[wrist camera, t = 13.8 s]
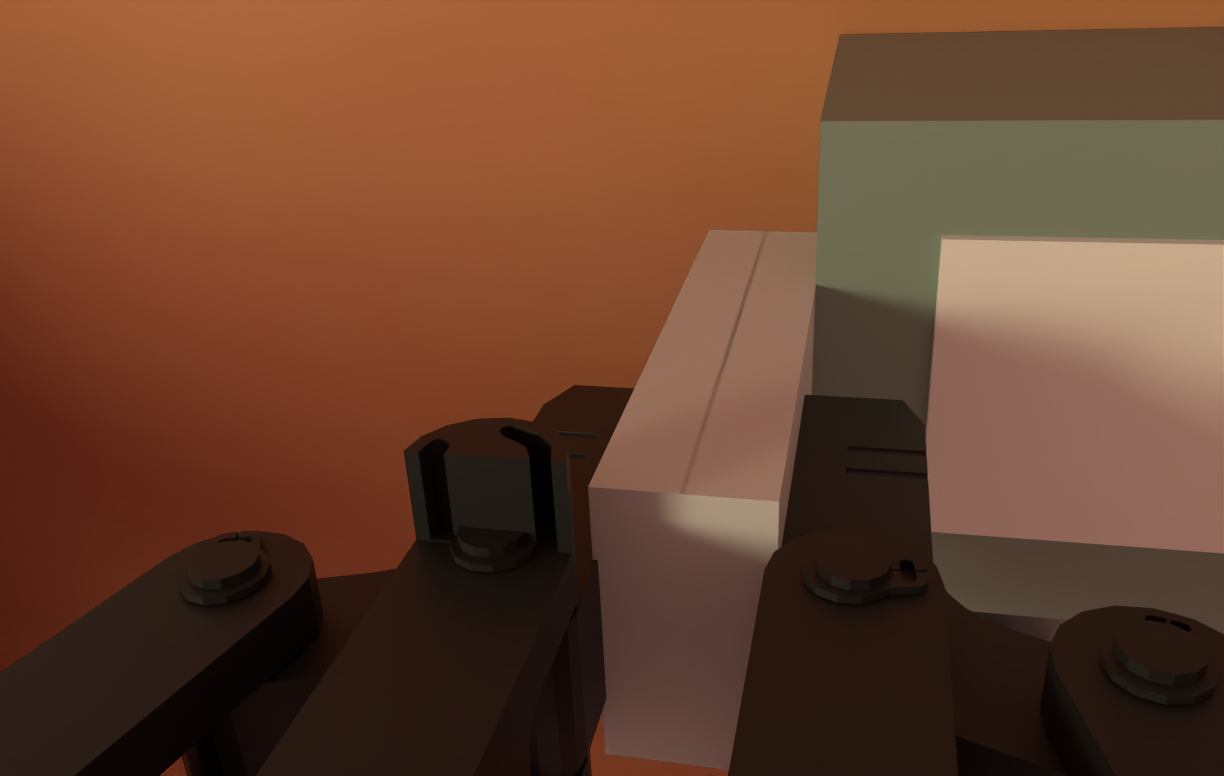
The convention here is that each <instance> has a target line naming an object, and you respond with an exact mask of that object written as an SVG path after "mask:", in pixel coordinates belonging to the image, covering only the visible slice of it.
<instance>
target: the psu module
mask: <svg viewBox="0 0 1224 776" xmlns="http://www.w3.org/2000/svg"><path fill="white" fill-rule="evenodd" d="M815 285H816V288H815V316H814V344H813V375H812V395H821V396H839V397H857V398H876V399H894V400H903V401H904V402H905V403H906V404H907V405H908V407H909V408H910V409H911V410H912V411H913V412H914V413H915V414H916V415H917V416H918V417H919V419H920V420H921V421H922V422H923V423H924V424H925V436H926V456H927V468H928V485H929V501H930V517H931V534H932V550H933V563H934V564H935V565H936V566H937V569H938V571H939V573H940V576H941V578H942V581H943V583H944V586H945V589H946V591H947V592H948V593H949V594H950V595H951V596H952V597H953V598H954V599H956V600H957V601H958V602H959V603H960V604H962V605H963V606H964V607H965V608H967V609H968V610H970V611H973V612H984V613H996V614H1007V615H1018V616H1030V617H1041V618H1053V619H1064V620H1069V619H1070V618H1072V617H1074V616H1075V615H1077V614H1078V613H1080V612H1082V611H1087V610H1093V609H1098V608H1104V607H1109V606H1114V605H1115V606H1130V607H1145V608H1155V609H1159V610H1162V611H1167V612H1170V613H1175V614H1178V615H1181V616H1184V617H1188V618H1191V619H1195V620H1197V621H1199V622H1201V623H1203V624H1205V625H1207V626H1209V627H1211V628H1213V629H1214V630H1216V631H1218V632H1220V633H1223V634H1224V27H1200V28H1149V29H1098V30H1048V31H997V32H946V33H896V34H845V35H840V37H839V41H838V46H837V50H836V54H835V59H834V63H833V68H832V72H831V77H830V81H829V85H828V90H827V94H826V99H825V103H824V107H823V112H822V116H821V121H820V149H819V182H818V214H817V246H816V279H815Z"/></svg>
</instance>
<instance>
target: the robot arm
mask: <svg viewBox="0 0 1224 776" xmlns="http://www.w3.org/2000/svg"><path fill="white" fill-rule="evenodd" d="M816 246H817V232H779V231H739V230H709V231H708V234H707V236H706V238H705V240H704V242H703V244H702V246H701V248H700V251H699V253H698V255H697V257H696V259H695V261H694V263H693V265H692V268H691V270H690V272H689V274H688V276H687V278H686V280H685V282H684V285H683V287H682V289H681V291H680V293H679V295H678V297H677V299H676V301H675V304H674V306H673V308H672V310H671V312H670V314H669V316H668V318H667V321H666V323H665V325H664V327H663V329H662V331H661V333H660V335H659V338H658V340H657V342H656V344H655V346H654V348H653V350H652V352H651V355H650V357H649V359H648V361H647V363H646V365H645V367H644V369H643V371H642V374H641V376H640V378H639V380H638V382H637V384H636V386H635V388H616V387H598V386H580V385H574V386H572V387H571V388H569V389H568V390H566V391H565V392H563V393H561V394H560V395H558V396H557V397H555V398H554V399H552V400H550V401H549V402H547V403H546V404H544V405H543V407H542V408H541V410H540V411H539V413H538V415H537V416H536V418H535V419H534V421H533V422H531V421H525V420H519V419H513V418H489V419H475V420H470V421H465V422H461V423H456V424H451V425H447V426H445V427H442V428H440V429H438V430H435V431H433V432H431V433H428V434H426V435H424V436H421V437H420V438H419V439H418V440H417V441H415V442H414V443H413V444H412V445H410V446H409V447H408V448H407V449H406V450H404V456H405V463H406V470H407V476H408V483H409V490H410V497H411V504H412V511H413V518H414V525H415V532H416V539H417V540H416V541H415V542H414V544H413V545H412V547H411V548H410V550H409V551H408V553H407V554H406V556H405V557H404V559H403V560H402V562H401V563H400V565H399V566H398V567H397V569H391V570H385V571H380V572H374V573H366V574H357V575H348V576H338V577H329V578H320V579H316V574H315V568H314V563H313V559H312V557H311V555H310V553H309V552H308V550H307V548H306V547H305V545H304V544H303V543H301V542H299V541H297V540H295V539H293V538H291V537H289V536H287V535H285V534H278V533H269V532H261V531H242V532H241V533H238V532H233V533H227V534H222V535H219V536H217V537H215V538H212V539H209V540H205V541H202V542H199V543H195V544H193V545H191V546H189V547H187V548H185V549H183V550H182V551H180V552H178V553H176V554H174V555H172V556H170V557H168V558H167V559H165V560H164V561H162V562H161V563H159V564H158V565H156V566H155V567H153V568H152V569H150V570H149V571H148V572H146V573H145V574H143V575H142V576H140V577H139V578H137V579H136V580H134V581H133V582H132V583H130V584H129V585H127V586H126V587H124V588H123V589H121V590H120V591H118V592H117V593H116V594H114V595H113V596H111V597H110V598H108V599H107V600H105V601H104V602H103V603H101V604H100V605H98V606H97V607H95V608H94V609H92V610H91V611H89V612H88V613H87V614H85V615H84V616H82V617H81V618H79V619H78V620H76V621H75V622H73V623H72V624H71V625H69V626H68V627H66V628H65V629H63V630H62V631H60V632H59V633H57V634H56V635H55V636H53V637H52V638H50V639H49V640H47V641H46V642H44V643H43V644H41V645H40V646H39V647H37V648H36V649H34V650H33V651H31V652H30V653H28V654H27V655H25V656H24V657H23V658H21V659H20V660H18V661H17V662H15V663H14V664H12V665H11V666H10V667H8V668H7V669H5V670H4V671H2V672H1V673H0V776H160V775H161V774H162V773H163V772H164V771H165V770H166V769H168V768H169V767H170V766H171V765H172V764H173V763H174V762H175V761H177V760H178V759H179V758H180V757H181V756H182V760H183V763H184V767H185V770H186V774H187V776H592V774H591V760H590V746H591V743H592V740H593V737H594V734H595V731H596V728H597V725H598V722H599V719H600V716H601V713H602V714H603V730H604V745H605V754H609V755H617V756H625V757H632V758H640V759H648V760H655V761H663V762H671V763H678V764H685V765H693V766H700V767H708V768H716V769H723V770H729V773H728V776H1224V634H1222V633H1220V632H1218V631H1216V630H1214V629H1213V628H1211V627H1209V626H1207V625H1205V624H1203V623H1201V622H1199V621H1197V620H1195V619H1191V618H1188V617H1184V616H1181V615H1178V614H1175V613H1170V612H1167V611H1162V610H1159V609H1155V608H1145V607H1130V606H1115V605H1114V606H1109V607H1104V608H1098V609H1093V610H1087V611H1082V612H1080V613H1078V614H1077V615H1075V616H1074V617H1072V618H1070V619H1069V620H1067V621H1066V622H1064V623H1062V624H1061V625H1059V627H1058V629H1057V631H1056V633H1055V636H1054V638H1053V640H1052V642H1050V641H1046V640H1043V639H1040V638H1036V637H1033V636H1030V635H1026V634H1023V633H1020V632H1017V631H1014V630H1011V629H1008V628H1006V627H1003V626H1001V625H998V624H995V623H993V622H990V621H988V620H986V619H984V618H982V617H981V616H979V615H977V614H975V613H974V612H972V611H970V610H968V609H967V608H965V607H964V606H963V605H962V604H960V603H959V602H958V601H957V600H956V599H954V598H953V597H952V596H951V595H950V594H949V593H948V592H947V591H946V589H945V586H944V583H943V581H942V578H941V576H940V573H939V571H938V569H937V566H936V565H935V564H934V563H933V550H932V534H931V517H930V501H929V485H928V468H927V456H926V436H925V424H924V423H923V422H922V421H921V420H920V419H919V417H918V416H917V415H916V414H915V413H914V412H913V411H912V410H911V409H910V408H909V407H908V405H907V404H906V403H905V402H904V401H903V400H894V399H876V398H857V397H839V396H821V395H812V375H813V344H814V316H815V288H816V285H815V279H816Z"/></svg>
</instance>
